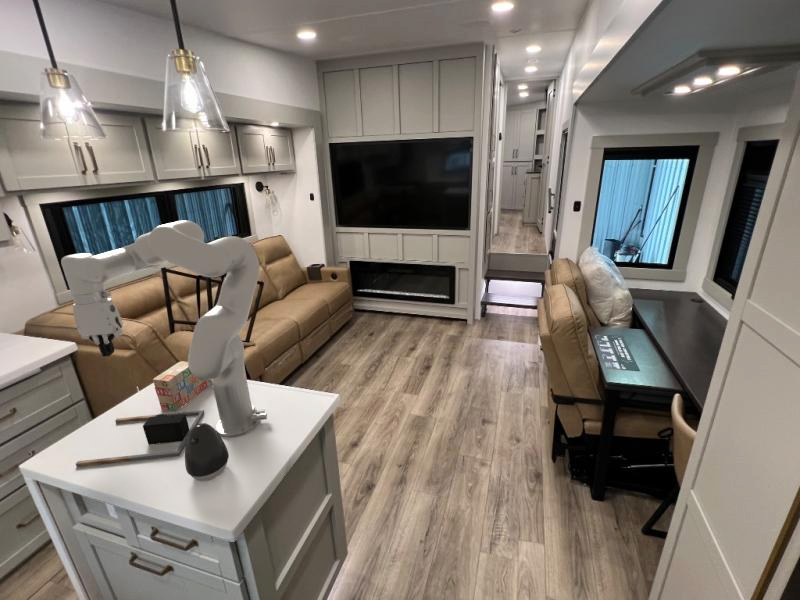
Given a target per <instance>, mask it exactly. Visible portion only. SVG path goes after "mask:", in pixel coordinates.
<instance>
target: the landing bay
mask: <svg viewBox="0 0 800 600" xmlns="http://www.w3.org/2000/svg"><path fill="white" fill-rule="evenodd" d="M204 413H206V412H205V410H204V409H201V410H193V411H192V410H191V411H183V412H182V411H181V412H173V413H172V412H171V413H170V412H169V413H164V414H165V415H177V414H185V415H186V418H187V417H188V416H189V417H196V418H195V420H194V421H193V423H192V424H191V426H190V427H189V431H188V433H187V434H186V436H185V437H184V439H183V441H182V442H181V443H180V444H179V446H178V448H177V449H176V450H169V451H161V452H153V453H150V452H149V453H142V454H141V453H140V454H132V456H131V455H130V456H131V457H130V460H131V461H130V462H137V461H138V462H139V461H146V460H157V459H158V460H159V459H166V458H174V457H180V456H181V455H182V453H183V451H185V446H186V440H187V436H188V434H189V432H190V430H191V429H192V428H193V427H194V426H195V425H197V424H200V422H201V420H202V419H203V417H204V415H205V414H204ZM189 417H188V418H189Z"/></svg>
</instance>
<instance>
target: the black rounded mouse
mask: <svg viewBox="0 0 800 600" xmlns="http://www.w3.org/2000/svg"><path fill="white" fill-rule="evenodd" d="M229 455H230V453H229V450H228V448H227V446H226V444H225V442H224V439H223V438H222V436H221V435H219V434H218V432H217V429H215V428H214V426H211V425H210V424H208V423H206V422H201V423H200V422H199V424H197V425H195V426H194V427H193V428H192V429H191V430H190V432H189V434H188V436H187V440H186V446H185V448H184V465H185V470H186V473H187V475H189V476H190V477H191V478H193V479H194V480H196V481H199V482H207V481H211V480H213V479H215V478H217V477H219V476H220V475H221V474H222V473H223V472H224V471H225V469H226V467H227V465H228V461H229Z"/></svg>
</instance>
